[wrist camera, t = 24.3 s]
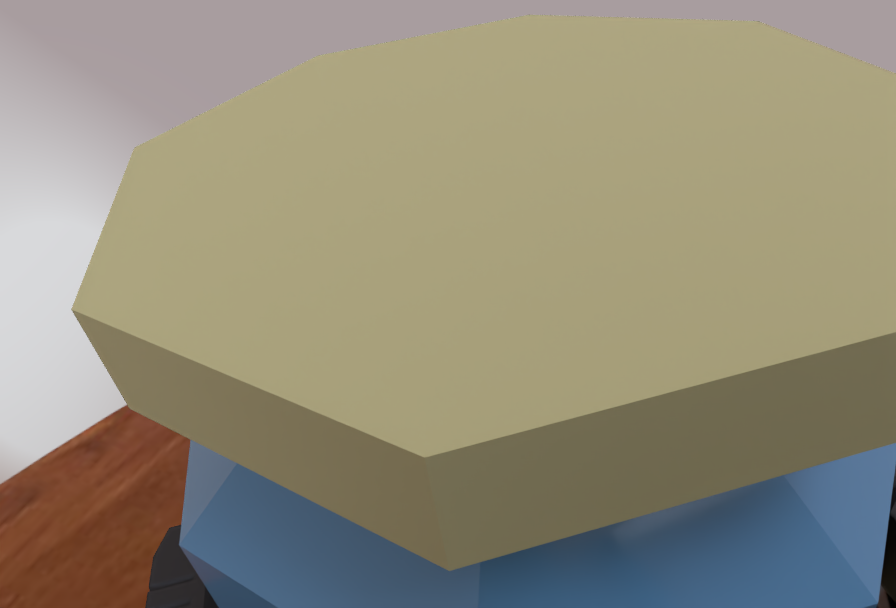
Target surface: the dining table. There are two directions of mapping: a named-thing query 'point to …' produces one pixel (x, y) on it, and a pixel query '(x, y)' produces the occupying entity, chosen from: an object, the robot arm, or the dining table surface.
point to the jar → (523, 320)
